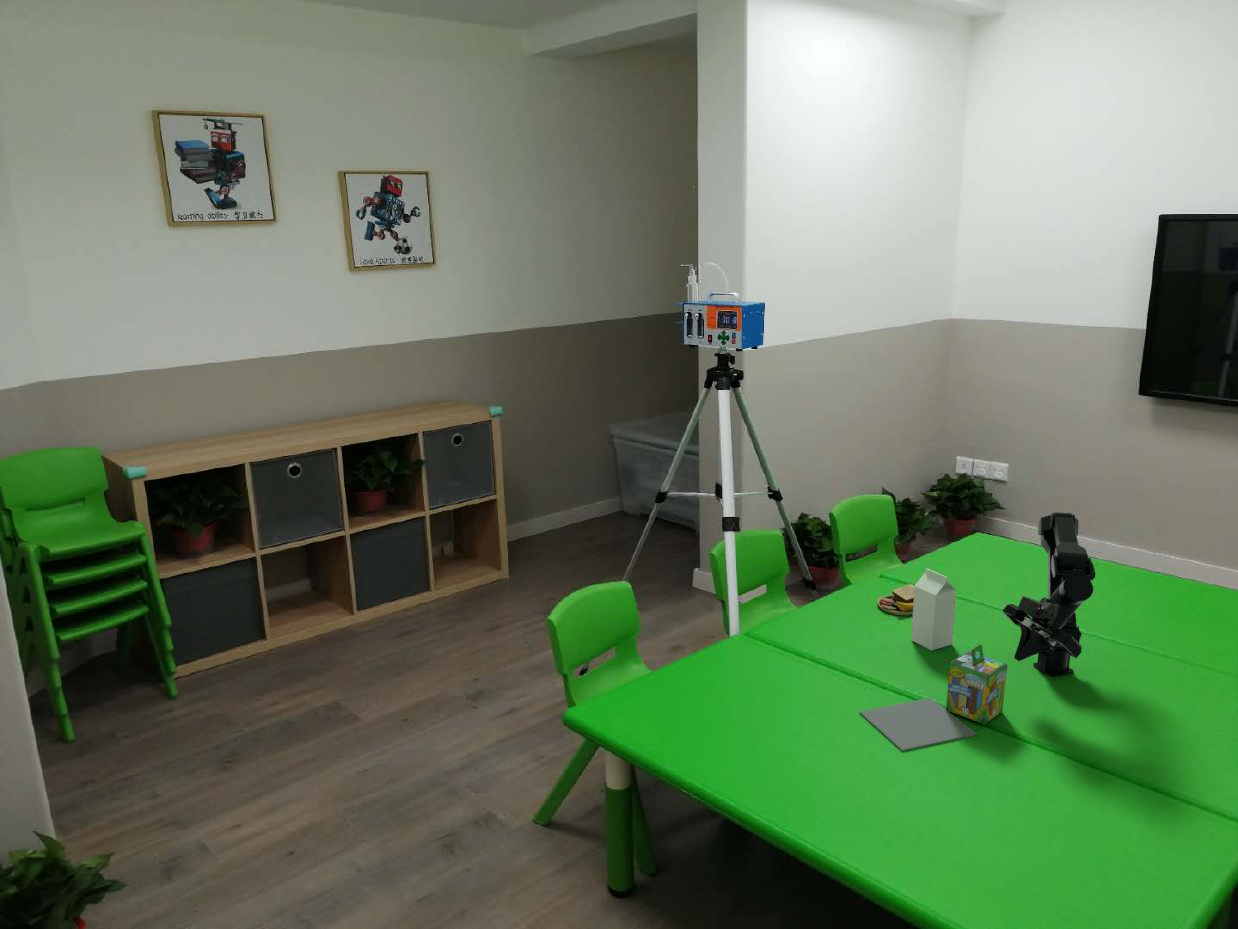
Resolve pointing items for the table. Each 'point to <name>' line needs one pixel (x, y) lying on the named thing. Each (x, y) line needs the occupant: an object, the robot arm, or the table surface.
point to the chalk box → (976, 686)
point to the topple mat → (917, 724)
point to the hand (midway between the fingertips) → (1016, 659)
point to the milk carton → (933, 611)
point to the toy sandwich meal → (899, 601)
